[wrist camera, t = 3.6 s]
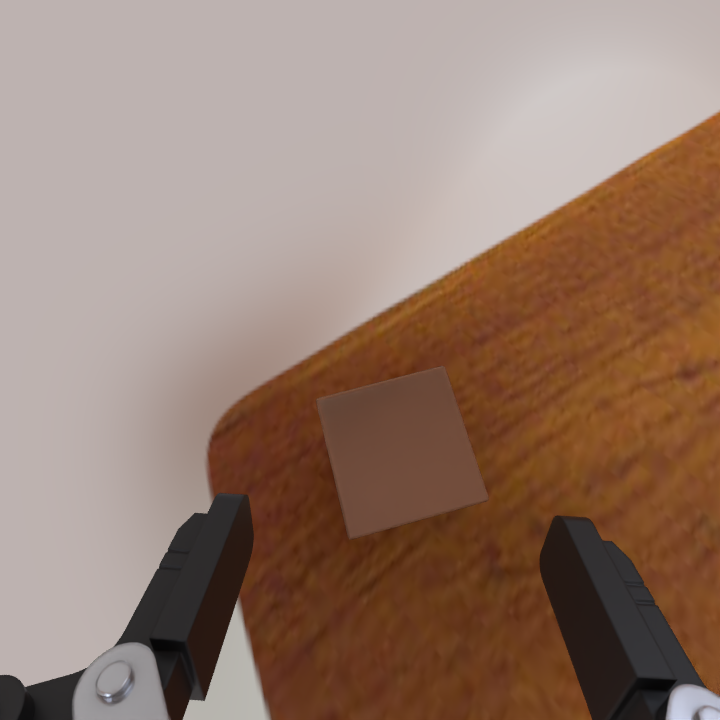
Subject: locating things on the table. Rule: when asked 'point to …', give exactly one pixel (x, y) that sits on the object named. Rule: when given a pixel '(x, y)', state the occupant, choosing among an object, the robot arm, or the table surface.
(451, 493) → the brown square block
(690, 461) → the table surface
